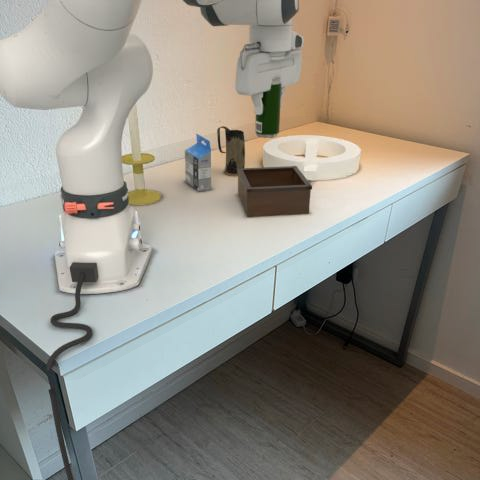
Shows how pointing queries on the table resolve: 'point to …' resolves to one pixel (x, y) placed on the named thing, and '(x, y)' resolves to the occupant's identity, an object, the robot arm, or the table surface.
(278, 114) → the beer can
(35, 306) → the table surface
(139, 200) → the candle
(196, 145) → the label tape box
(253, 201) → the brown open box
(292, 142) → the white circle with bar
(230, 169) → the mug
